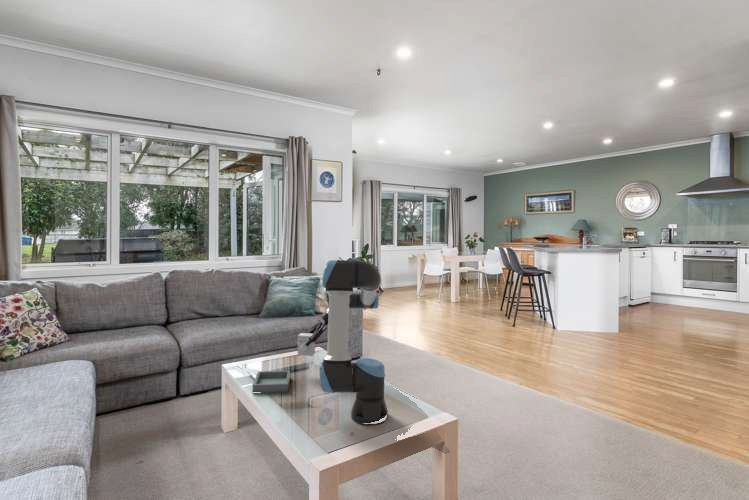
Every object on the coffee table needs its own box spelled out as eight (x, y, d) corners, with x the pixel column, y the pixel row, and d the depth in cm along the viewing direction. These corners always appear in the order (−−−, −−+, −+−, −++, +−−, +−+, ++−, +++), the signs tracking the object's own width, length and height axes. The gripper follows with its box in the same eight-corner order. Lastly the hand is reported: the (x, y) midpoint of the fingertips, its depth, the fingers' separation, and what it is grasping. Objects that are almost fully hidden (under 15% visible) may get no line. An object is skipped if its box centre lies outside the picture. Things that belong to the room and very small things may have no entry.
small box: (315, 353, 210) (315, 333, 210) (312, 356, 205) (312, 336, 204) (300, 352, 211) (300, 332, 211) (297, 355, 205) (297, 335, 205)
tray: (287, 392, 185) (287, 384, 185) (252, 393, 183) (252, 385, 183) (289, 378, 203) (290, 370, 203) (257, 379, 201) (258, 371, 200)
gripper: (340, 324, 202) (308, 358, 198) (331, 316, 222) (302, 347, 217) (330, 315, 200) (297, 348, 196) (322, 307, 220) (292, 338, 215)
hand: (300, 347), depth 206 cm, fingers closed on small box, 8 cm apart
